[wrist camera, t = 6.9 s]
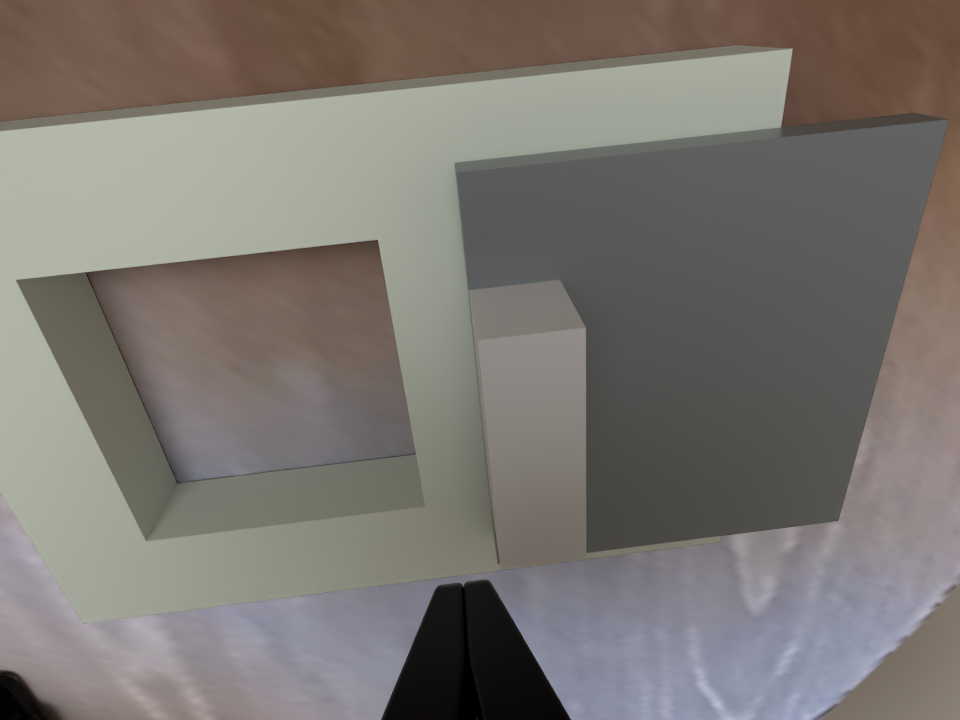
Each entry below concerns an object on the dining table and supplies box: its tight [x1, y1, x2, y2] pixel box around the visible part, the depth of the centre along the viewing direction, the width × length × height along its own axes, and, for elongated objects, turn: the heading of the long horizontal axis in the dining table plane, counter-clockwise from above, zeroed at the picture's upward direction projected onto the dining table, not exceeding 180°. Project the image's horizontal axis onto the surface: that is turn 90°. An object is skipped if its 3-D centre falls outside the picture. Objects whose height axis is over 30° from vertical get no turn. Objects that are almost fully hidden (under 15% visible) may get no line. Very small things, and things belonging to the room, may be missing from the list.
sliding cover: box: [454, 113, 949, 569], centre depth 14 cm, size 10×11×3 cm
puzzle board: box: [0, 45, 793, 624], centre depth 17 cm, size 20×14×2 cm
